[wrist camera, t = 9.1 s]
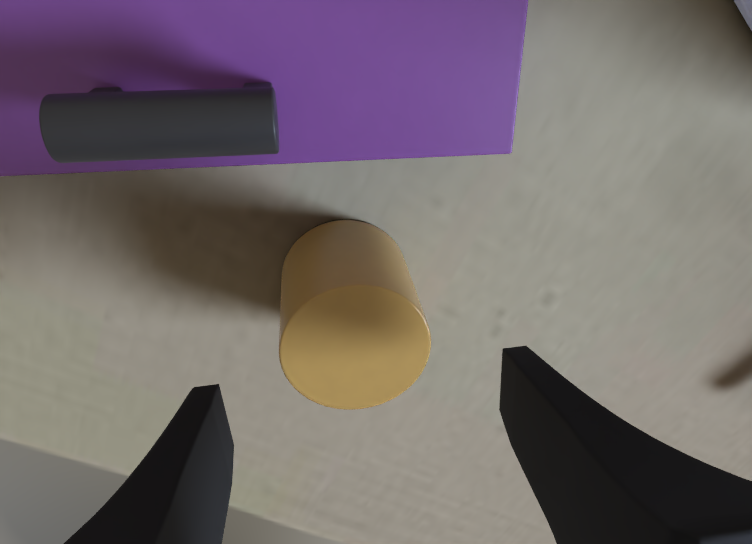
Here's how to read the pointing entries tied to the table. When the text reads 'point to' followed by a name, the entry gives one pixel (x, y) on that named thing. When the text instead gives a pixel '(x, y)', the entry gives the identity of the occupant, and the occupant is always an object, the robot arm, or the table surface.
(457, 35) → the cover
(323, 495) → the table surface
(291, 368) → the cylinder
